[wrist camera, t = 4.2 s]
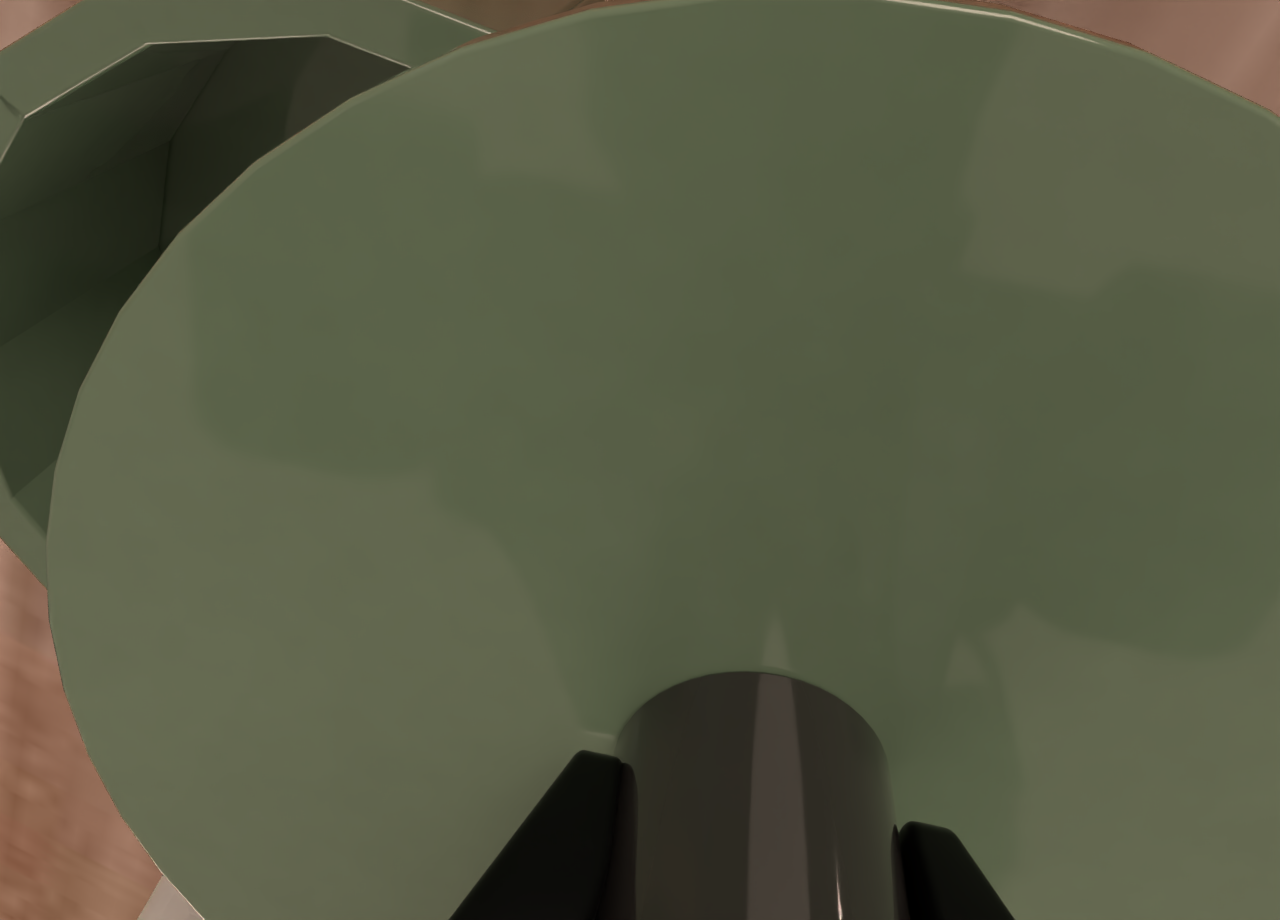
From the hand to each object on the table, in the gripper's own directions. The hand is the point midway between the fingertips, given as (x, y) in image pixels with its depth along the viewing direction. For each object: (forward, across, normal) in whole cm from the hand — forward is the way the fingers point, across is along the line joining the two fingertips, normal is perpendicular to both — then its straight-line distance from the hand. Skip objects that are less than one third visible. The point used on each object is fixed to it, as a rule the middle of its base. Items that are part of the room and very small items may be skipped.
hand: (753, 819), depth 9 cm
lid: (+1, 0, 0) cm, 1 cm away
